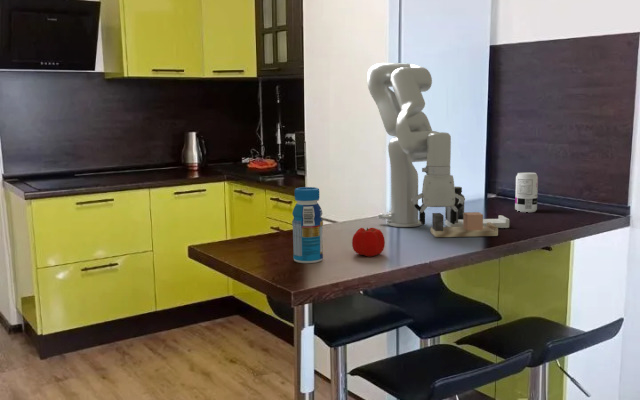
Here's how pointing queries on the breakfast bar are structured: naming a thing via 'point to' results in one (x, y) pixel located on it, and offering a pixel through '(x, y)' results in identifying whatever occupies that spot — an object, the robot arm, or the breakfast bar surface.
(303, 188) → the beverage bottle
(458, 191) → the supplement bottle
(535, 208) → the supplement can
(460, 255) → the breakfast bar surface
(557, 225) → the breakfast bar surface
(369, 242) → the tomato
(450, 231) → the birch strip
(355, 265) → the breakfast bar surface
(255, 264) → the breakfast bar surface
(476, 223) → the terracotta block
